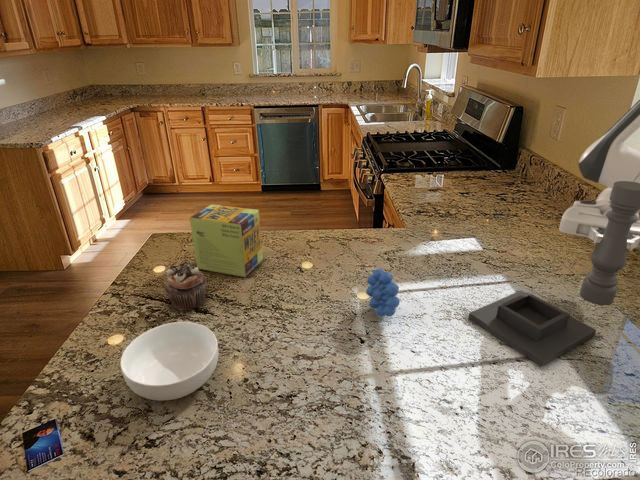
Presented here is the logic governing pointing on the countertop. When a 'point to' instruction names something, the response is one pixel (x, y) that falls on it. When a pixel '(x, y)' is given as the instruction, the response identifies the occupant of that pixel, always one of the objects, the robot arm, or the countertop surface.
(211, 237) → the protein box
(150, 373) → the cereal bowl
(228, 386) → the countertop surface
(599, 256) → the candle holder
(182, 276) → the cupcake
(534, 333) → the display stand
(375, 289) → the grapes
